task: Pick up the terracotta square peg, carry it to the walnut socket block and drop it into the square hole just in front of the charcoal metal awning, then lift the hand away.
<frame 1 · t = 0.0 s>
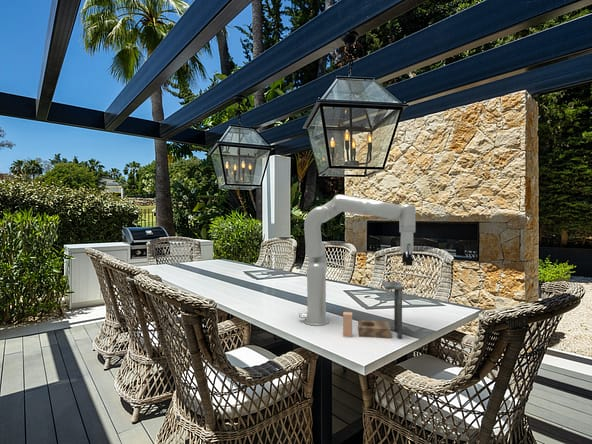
hand: (407, 264, 164), 31 cm above the table, tool pointing down, fingers open, 9 cm apart
socket block: (373, 332, 155), on the table
peg: (347, 335, 152), on the table
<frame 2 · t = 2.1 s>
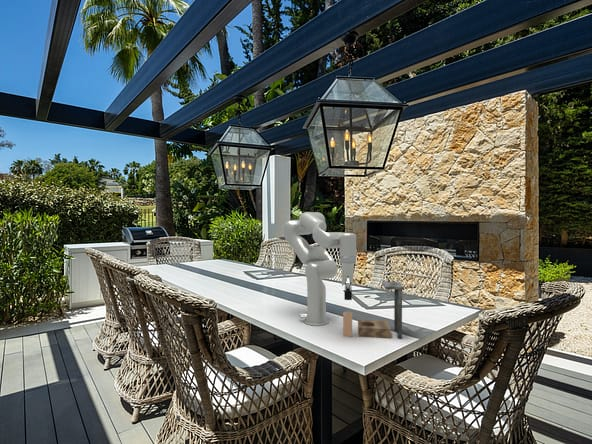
hand: (348, 297, 152), 17 cm above the table, tool pointing down, fingers open, 9 cm apart
nothing on the table moved.
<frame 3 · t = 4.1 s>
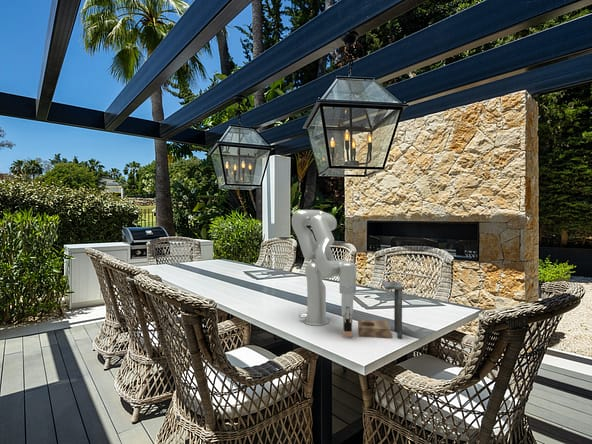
hand: (347, 329, 152), 3 cm above the table, tool pointing down, fingers closed on peg, 4 cm apart
peg: (347, 335, 152), on the table, touching gripper
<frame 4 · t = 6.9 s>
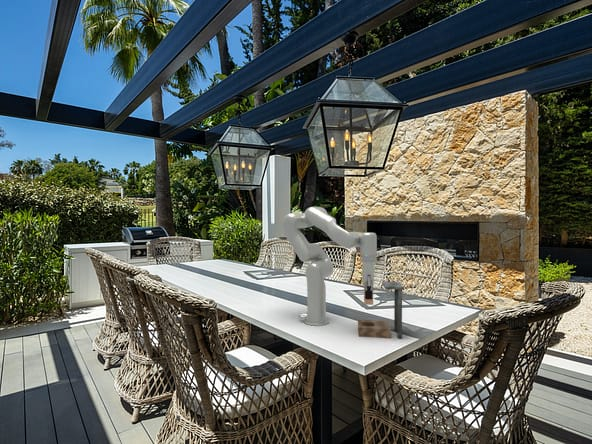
hand: (368, 297, 155), 16 cm above the table, tool pointing down, fingers closed on peg, 4 cm apart
peg: (368, 303, 155), point 14 cm above the table, touching gripper
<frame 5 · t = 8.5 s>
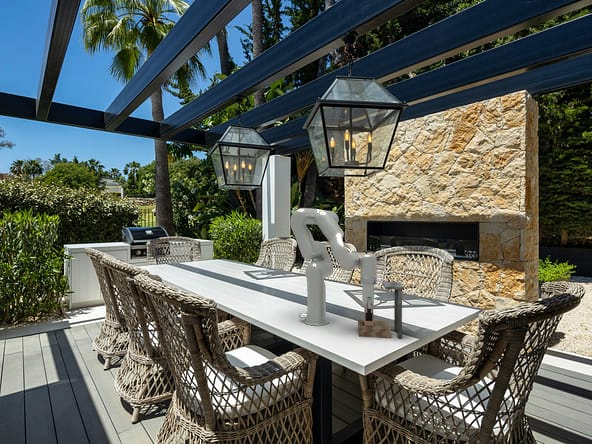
hand: (368, 319, 155), 6 cm above the table, tool pointing down, fingers closed on peg, 4 cm apart
peg: (368, 325, 155), point 4 cm above the table, touching gripper
when the fingers open (5 cm above the table, at t = 9.9 s): peg drops 2 cm, resting in socket block.
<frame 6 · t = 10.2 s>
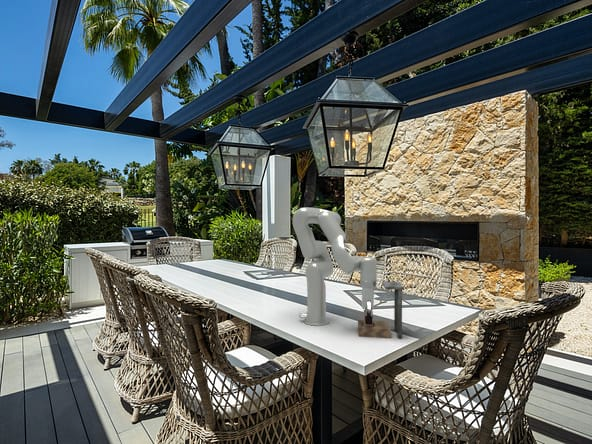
hand: (368, 321, 155), 5 cm above the table, tool pointing down, fingers open, 7 cm apart
peg: (368, 332, 155), resting in socket block
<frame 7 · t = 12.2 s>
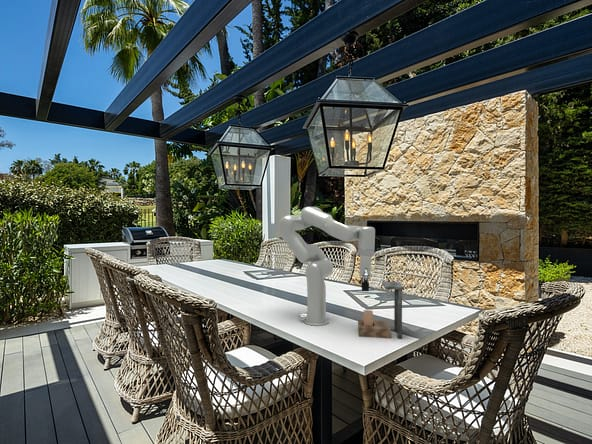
hand: (364, 288, 157), 20 cm above the table, tool pointing down, fingers open, 9 cm apart
nothing on the table moved.
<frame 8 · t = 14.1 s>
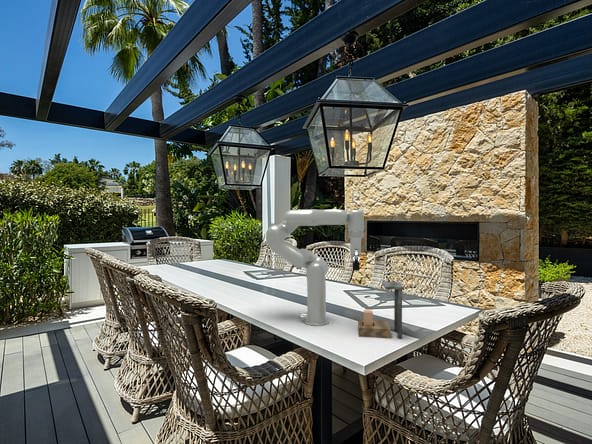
hand: (355, 268, 166), 28 cm above the table, tool pointing down, fingers open, 9 cm apart
nothing on the table moved.
at the end: peg 0.0 cm from the target spot on the socket block, point 0.0 cm above the socket block's base; peg tilted 0°; the gripper is holding nothing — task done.
